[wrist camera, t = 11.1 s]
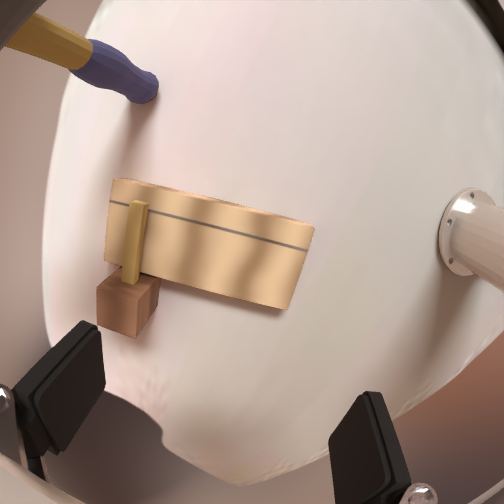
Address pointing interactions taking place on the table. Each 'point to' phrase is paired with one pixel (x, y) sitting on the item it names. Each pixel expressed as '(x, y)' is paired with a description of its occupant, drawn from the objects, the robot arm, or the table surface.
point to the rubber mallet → (73, 51)
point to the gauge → (129, 282)
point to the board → (211, 243)
